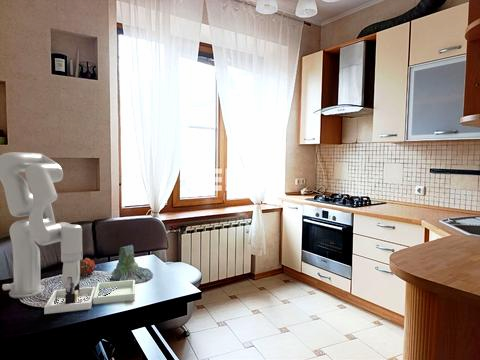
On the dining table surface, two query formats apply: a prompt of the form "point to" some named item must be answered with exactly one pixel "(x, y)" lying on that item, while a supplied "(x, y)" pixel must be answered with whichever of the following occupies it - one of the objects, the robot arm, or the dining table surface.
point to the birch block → (76, 295)
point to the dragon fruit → (86, 266)
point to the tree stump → (130, 267)
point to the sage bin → (116, 292)
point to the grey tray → (55, 308)
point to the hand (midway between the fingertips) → (72, 298)
